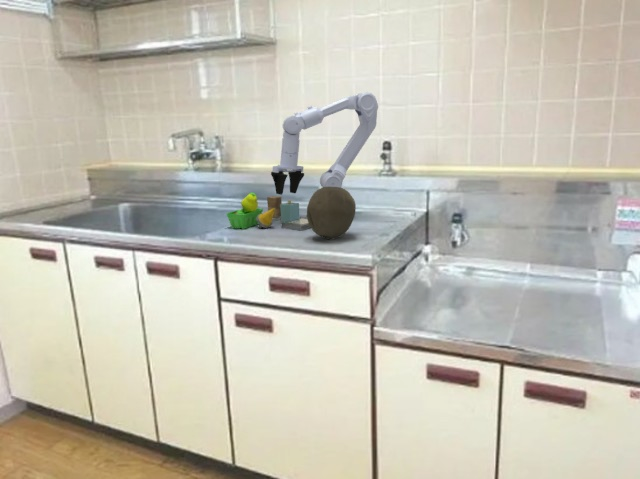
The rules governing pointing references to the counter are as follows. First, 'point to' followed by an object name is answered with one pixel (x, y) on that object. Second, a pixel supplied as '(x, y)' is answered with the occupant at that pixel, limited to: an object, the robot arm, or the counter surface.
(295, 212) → the block
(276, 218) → the track
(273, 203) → the brown tall block
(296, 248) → the counter surface
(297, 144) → the robot arm
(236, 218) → the fruit basket
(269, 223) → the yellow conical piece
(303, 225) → the press bed
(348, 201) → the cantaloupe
